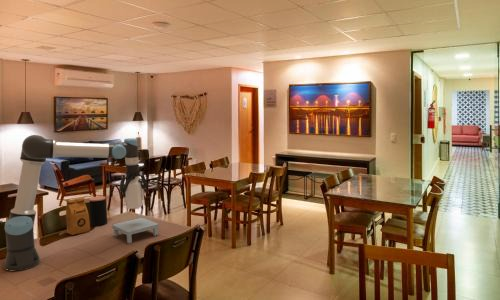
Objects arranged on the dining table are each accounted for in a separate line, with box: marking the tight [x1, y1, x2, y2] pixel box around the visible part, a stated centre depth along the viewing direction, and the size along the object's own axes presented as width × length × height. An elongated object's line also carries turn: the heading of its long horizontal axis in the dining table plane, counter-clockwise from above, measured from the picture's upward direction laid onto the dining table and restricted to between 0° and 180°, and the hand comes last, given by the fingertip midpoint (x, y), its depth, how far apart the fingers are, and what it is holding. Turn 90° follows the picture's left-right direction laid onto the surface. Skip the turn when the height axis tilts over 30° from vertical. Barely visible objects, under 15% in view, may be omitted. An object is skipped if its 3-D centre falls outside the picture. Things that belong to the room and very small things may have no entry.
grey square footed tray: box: [111, 217, 160, 244], centre depth 222 cm, size 20×20×7 cm
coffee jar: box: [88, 195, 108, 227], centre depth 246 cm, size 11×11×18 cm
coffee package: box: [65, 197, 91, 236], centre depth 229 cm, size 10×12×22 cm
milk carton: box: [124, 176, 143, 210], centre depth 220 cm, size 7×7×19 cm
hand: (134, 200), depth 220 cm, fingers closed on milk carton, 10 cm apart
